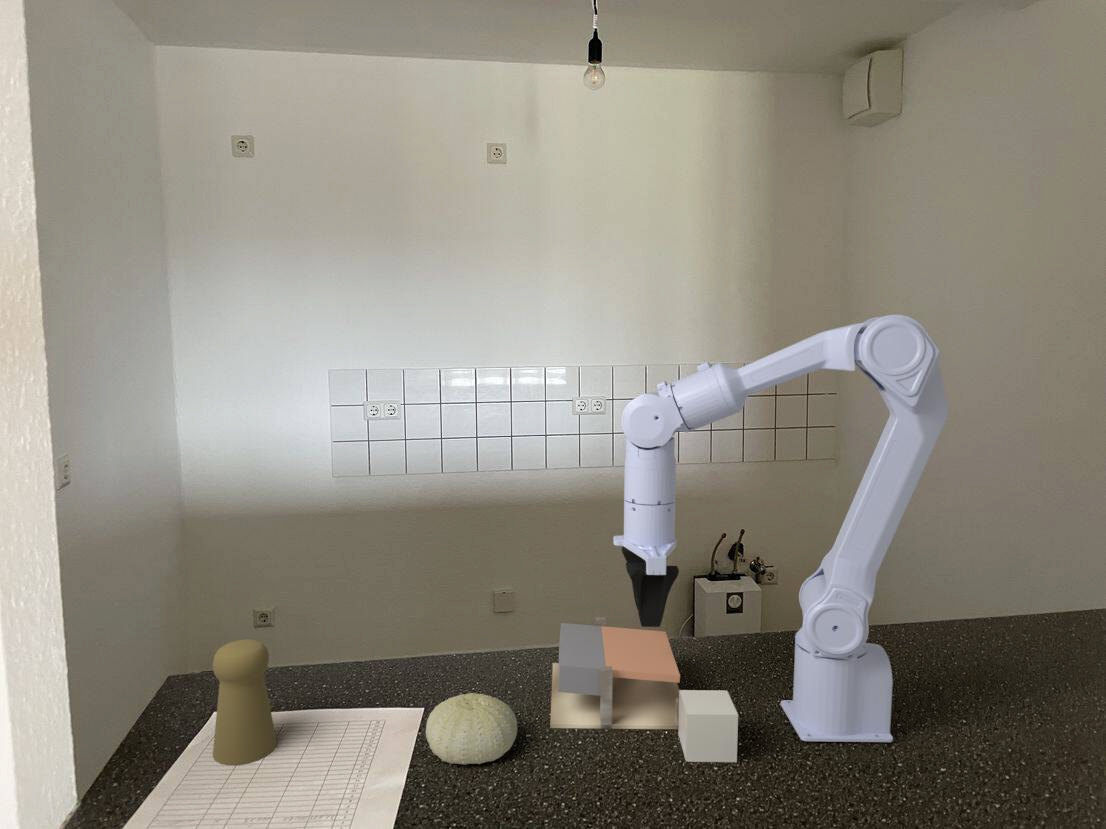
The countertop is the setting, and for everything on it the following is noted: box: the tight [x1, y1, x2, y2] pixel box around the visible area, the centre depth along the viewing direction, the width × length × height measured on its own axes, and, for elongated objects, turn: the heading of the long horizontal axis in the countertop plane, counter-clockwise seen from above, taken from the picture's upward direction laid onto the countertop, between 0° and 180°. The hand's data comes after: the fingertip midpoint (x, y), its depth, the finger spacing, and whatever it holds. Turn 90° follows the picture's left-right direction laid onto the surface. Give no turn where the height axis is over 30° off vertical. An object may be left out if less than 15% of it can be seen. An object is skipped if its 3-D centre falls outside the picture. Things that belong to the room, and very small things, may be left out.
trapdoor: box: [558, 622, 681, 696], centre depth 87 cm, size 13×12×3 cm
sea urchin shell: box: [425, 692, 519, 766], centre depth 76 cm, size 9×8×8 cm
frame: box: [549, 616, 680, 730], centre depth 87 cm, size 15×15×6 cm
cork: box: [212, 639, 277, 766], centre depth 75 cm, size 6×6×11 cm
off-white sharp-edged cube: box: [677, 689, 739, 763], centre depth 76 cm, size 5×5×5 cm
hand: (647, 616), depth 85 cm, fingers open, 5 cm apart
